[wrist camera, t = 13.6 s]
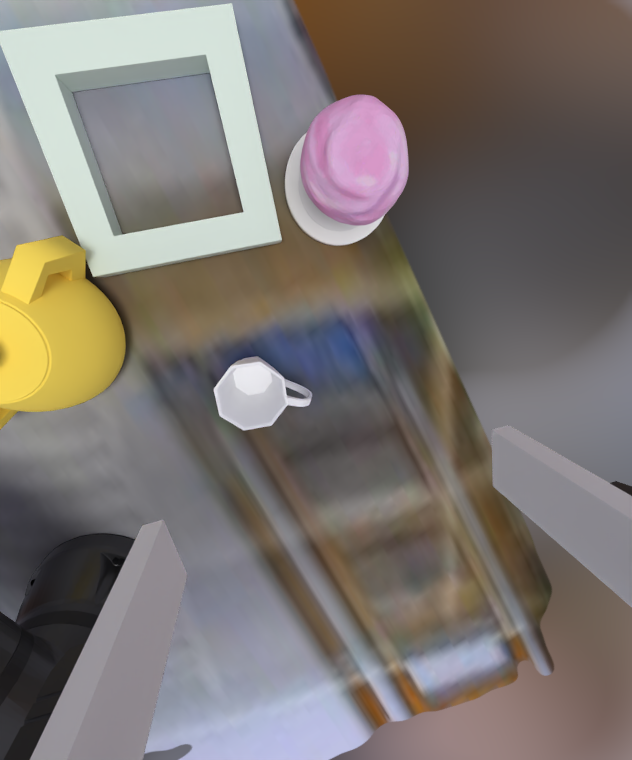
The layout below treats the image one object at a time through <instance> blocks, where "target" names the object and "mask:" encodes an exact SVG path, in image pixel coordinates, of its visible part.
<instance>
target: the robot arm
mask: <svg viewBox="0 0 632 760" xmlns="http://www.w3.org/2000/svg"><path fill="white" fill-rule="evenodd" d="M492 466H493V487H495V488H496V489H497V490H498V491H499V492H500V493H501V494H503V495H504V496H505V497H506V498H507V499H508V500H509V501H511V502H512V503H513V504H514V505H515V506H516V507H517V508H519V509H520V510H521V511H522V512H523V513H524V514H525V515H527V516H528V517H529V518H530V519H531V520H532V521H533V522H535V523H536V524H537V525H538V526H539V527H540V528H542V529H543V530H544V531H545V532H546V533H547V534H548V535H550V536H551V537H552V538H553V539H554V540H555V541H556V542H557V543H559V544H560V545H561V546H562V547H563V548H564V549H566V550H567V551H568V552H569V553H570V554H571V555H573V556H574V557H575V558H576V559H577V560H578V561H579V562H580V563H582V564H583V565H584V566H585V567H586V568H587V569H588V570H590V571H591V572H592V573H593V574H594V575H595V576H596V577H598V578H599V579H600V580H601V581H602V582H603V583H604V584H606V585H607V586H608V587H609V588H610V589H611V590H612V591H614V592H615V593H616V594H617V595H618V596H619V597H620V598H622V599H623V600H624V601H625V602H626V603H627V604H628V605H630V606H631V607H632V486H628V485H626V484H623V483H620V482H617V481H616V482H612V483H608V482H606V481H605V480H603V479H601V478H599V477H598V476H596V475H594V474H593V473H591V472H589V471H587V470H586V469H584V468H582V467H580V466H579V465H577V464H575V463H573V462H572V461H570V460H568V459H566V458H564V457H563V456H561V455H560V454H558V453H556V452H554V451H553V450H551V449H549V448H547V447H546V446H544V445H542V444H540V443H538V442H537V441H535V440H533V439H532V438H530V437H528V436H526V435H525V434H523V433H521V432H519V431H518V430H516V429H514V428H513V427H511V426H509V425H508V426H504V427H501V428H498V429H494V430H492ZM187 576H188V575H187V573H186V570H185V568H184V566H183V563H182V561H181V559H180V556H179V554H178V552H177V549H176V547H175V545H174V542H173V540H172V538H171V535H170V533H169V531H168V528H167V526H166V524H165V521H164V519H163V520H160V521H156V522H152V523H149V524H145V525H142V527H141V529H140V531H139V533H138V535H137V537H136V539H135V541H134V540H132V539H129V538H125V537H121V536H116V535H107V534H97V535H88V536H83V537H79V538H75V539H72V540H70V541H68V542H65V543H64V544H62V545H60V546H58V547H57V548H56V549H54V550H53V551H52V552H51V553H50V554H49V555H48V556H47V557H46V558H45V559H44V561H43V562H42V563H41V565H40V566H39V567H38V568H37V570H36V571H35V573H34V574H33V576H32V578H31V579H30V581H29V584H28V587H27V590H26V594H25V598H24V600H23V603H22V605H21V608H20V610H19V613H18V616H17V619H16V622H14V621H13V620H11V619H10V618H8V617H7V616H6V615H4V614H3V613H1V612H0V760H143V756H144V752H145V748H146V744H147V740H148V736H149V731H150V727H151V723H152V719H153V715H154V711H155V707H156V703H157V699H158V695H159V690H160V686H161V682H162V678H163V674H164V670H165V666H166V662H167V658H168V654H169V649H170V645H171V641H172V637H173V633H174V629H175V625H176V621H177V617H178V613H179V608H180V604H181V600H182V596H183V592H184V588H185V584H186V580H187Z"/></svg>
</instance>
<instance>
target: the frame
mask: <svg viewBox="0 0 632 760" xmlns="http://www.w3.org/2000/svg"><path fill="white" fill-rule="evenodd" d="M0 44H1V47H2V49H3V52H4V54H5V57H6V60H7V62H8V65H9V67H10V70H11V72H12V75H13V77H14V80H15V82H16V85H17V87H18V90H19V92H20V95H21V97H22V100H23V102H24V105H25V107H26V110H27V112H28V115H29V117H30V120H31V122H32V125H33V127H34V130H35V132H36V135H37V137H38V140H39V142H40V145H41V147H42V150H43V152H44V155H45V157H46V160H47V162H48V165H49V167H50V170H51V172H52V175H53V178H54V180H55V183H56V185H57V188H58V190H59V193H60V195H61V198H62V200H63V203H64V205H65V208H66V210H67V213H68V215H69V218H70V220H71V223H72V225H73V228H74V230H75V233H76V235H77V238H78V240H79V243H80V245H81V248H83V249H85V250H86V260H87V263H88V265H89V268H90V270H91V273H92V275H93V277H108V276H113V275H119V274H124V273H129V272H134V271H139V270H144V269H149V268H154V267H159V266H164V265H170V264H175V263H180V262H185V261H190V260H195V259H200V258H205V257H210V256H215V255H221V254H226V253H231V252H236V251H241V250H246V249H251V248H256V247H261V246H266V245H272V244H277V243H280V242H281V241H282V238H281V234H280V229H279V224H278V219H277V215H276V210H275V205H274V201H273V196H272V191H271V186H270V182H269V177H268V172H267V167H266V163H265V158H264V153H263V149H262V144H261V139H260V134H259V130H258V125H257V120H256V115H255V111H254V106H253V101H252V97H251V92H250V87H249V82H248V78H247V73H246V68H245V63H244V59H243V54H242V49H241V45H240V40H239V35H238V30H237V26H236V21H235V16H234V12H233V7H232V3H231V4H222V5H214V6H206V7H197V8H189V9H181V10H172V11H164V12H155V13H147V14H139V15H130V16H122V17H114V18H105V19H97V20H88V21H80V22H72V23H63V24H55V25H47V26H38V27H30V28H21V29H13V30H5V31H0ZM205 73H210V74H211V78H212V83H213V87H214V91H215V95H216V99H217V103H218V108H219V112H220V116H221V120H222V124H223V128H224V132H225V137H226V141H227V145H228V149H229V153H230V157H231V162H232V166H233V170H234V174H235V178H236V182H237V186H238V191H239V195H240V199H241V203H242V207H243V211H244V212H242V213H237V214H232V215H226V216H221V217H215V218H210V219H204V220H199V221H194V222H188V223H183V224H177V225H172V226H167V227H161V228H156V229H150V230H145V231H139V232H134V233H129V234H122V232H121V229H120V226H119V223H118V220H117V217H116V215H115V212H114V209H113V206H112V203H111V201H110V198H109V195H108V192H107V189H106V187H105V184H104V181H103V178H102V175H101V173H100V170H99V167H98V164H97V161H96V158H95V156H94V153H93V150H92V147H91V144H90V142H89V139H88V136H87V133H86V130H85V128H84V125H83V122H82V119H81V116H80V114H79V111H78V108H77V105H76V102H75V99H74V97H73V94H72V92H76V91H84V90H91V89H98V88H105V87H112V86H119V85H126V84H134V83H141V82H148V81H155V80H162V79H169V78H177V77H184V76H191V75H198V74H205Z"/></svg>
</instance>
